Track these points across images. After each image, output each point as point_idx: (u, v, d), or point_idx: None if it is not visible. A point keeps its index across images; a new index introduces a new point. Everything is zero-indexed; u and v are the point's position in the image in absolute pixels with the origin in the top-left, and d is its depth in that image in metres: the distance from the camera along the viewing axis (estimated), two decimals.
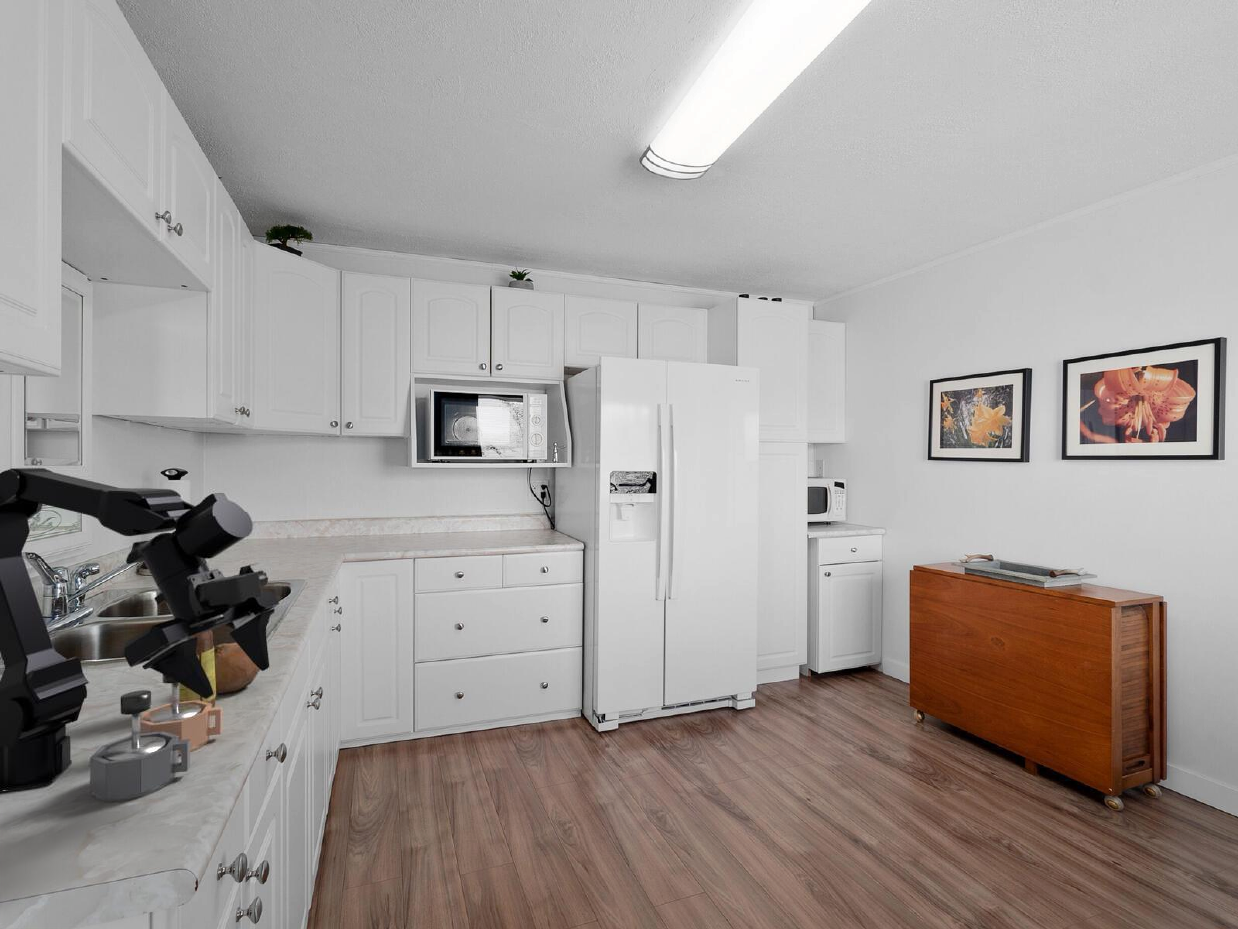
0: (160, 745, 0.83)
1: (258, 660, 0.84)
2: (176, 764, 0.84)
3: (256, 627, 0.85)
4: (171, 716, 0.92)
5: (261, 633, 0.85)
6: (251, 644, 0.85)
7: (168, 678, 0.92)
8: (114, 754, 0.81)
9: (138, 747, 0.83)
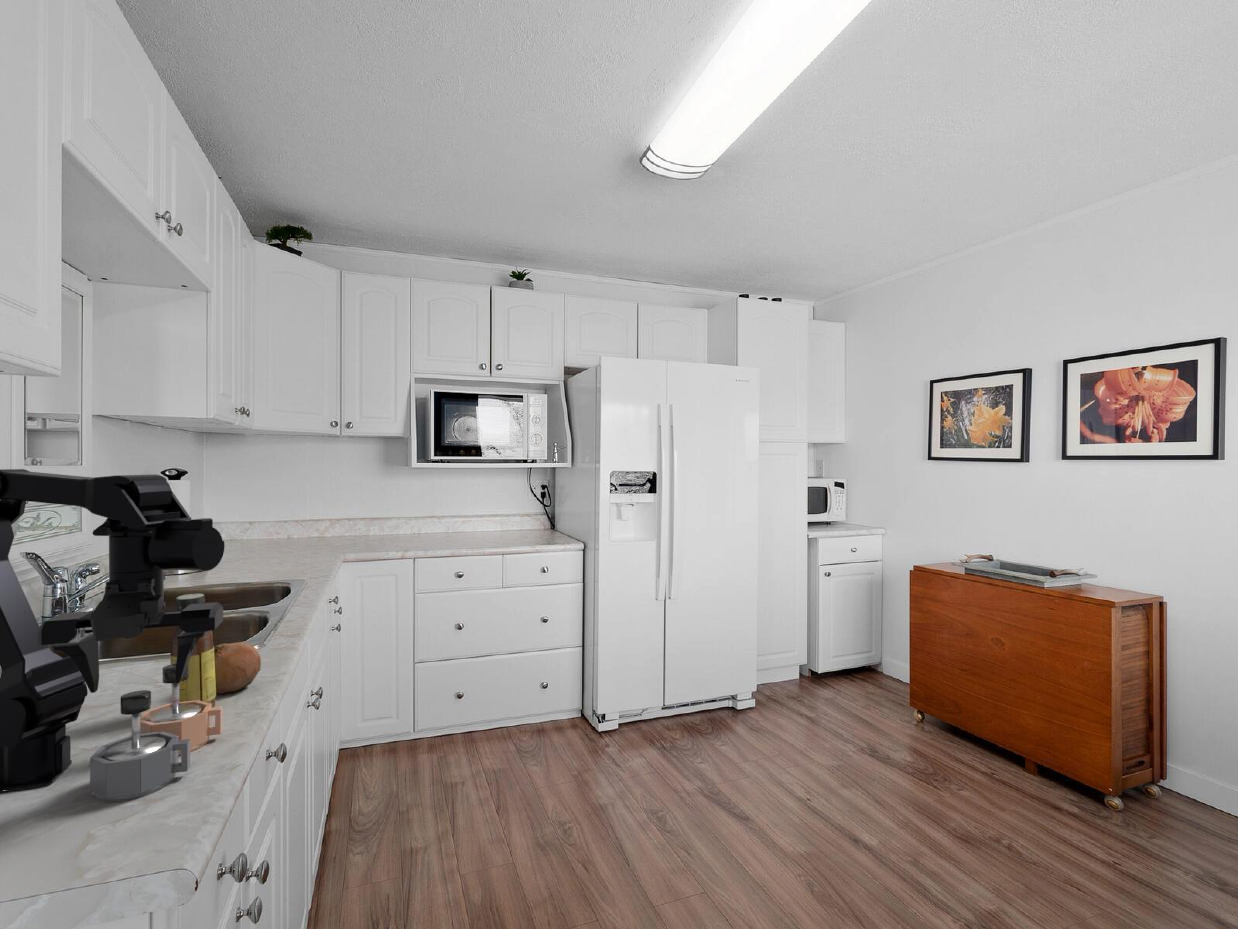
0: (160, 745, 0.83)
1: None
2: (176, 764, 0.84)
3: (178, 644, 0.83)
4: (171, 716, 0.92)
5: (182, 651, 0.83)
6: None
7: (168, 678, 0.92)
8: (114, 754, 0.81)
9: (138, 747, 0.83)
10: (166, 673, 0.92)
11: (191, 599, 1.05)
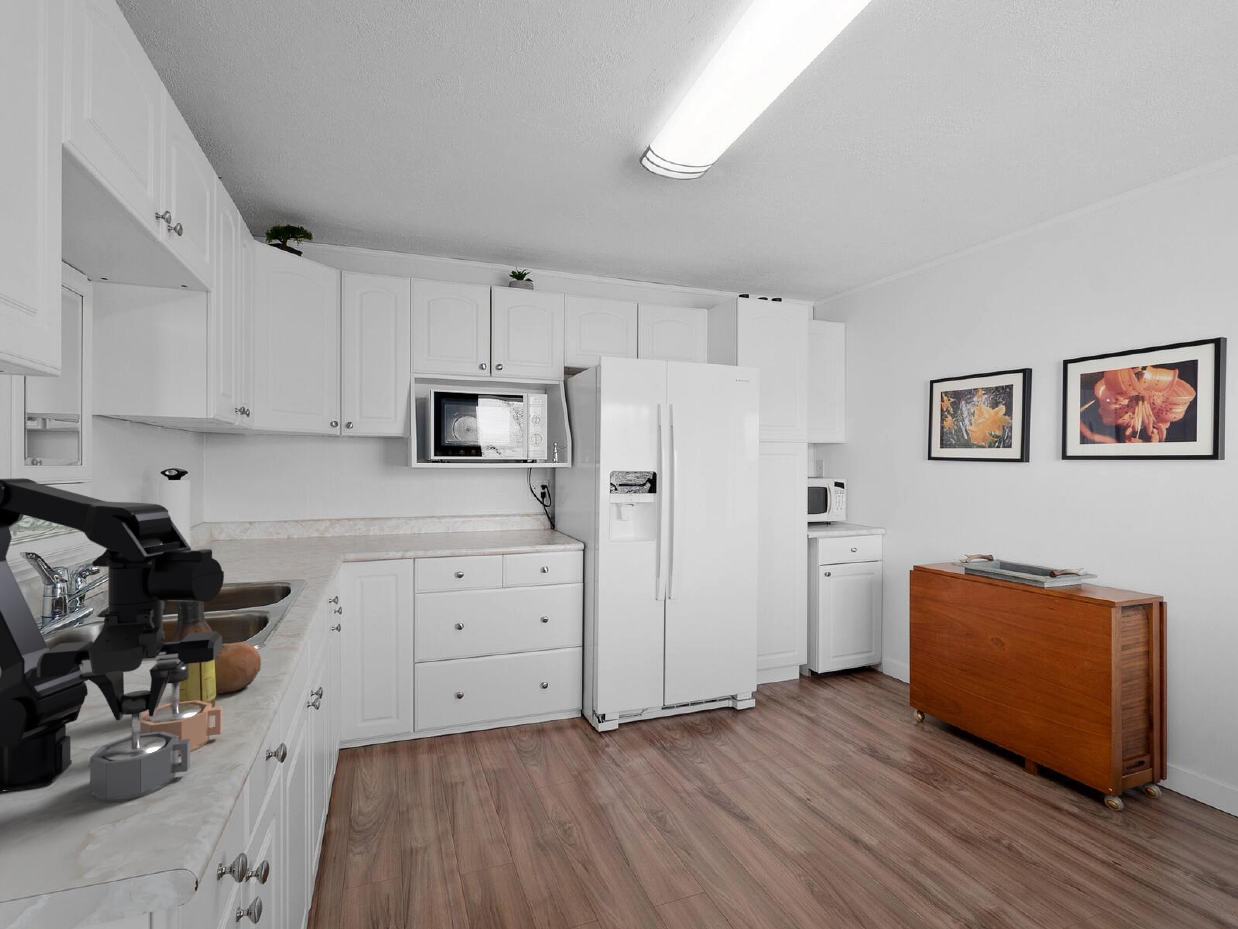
0: (160, 745, 0.83)
1: None
2: (176, 764, 0.84)
3: (151, 677, 0.82)
4: (171, 716, 0.92)
5: (156, 684, 0.82)
6: None
7: None
8: (114, 754, 0.81)
9: (138, 747, 0.83)
10: None
11: None
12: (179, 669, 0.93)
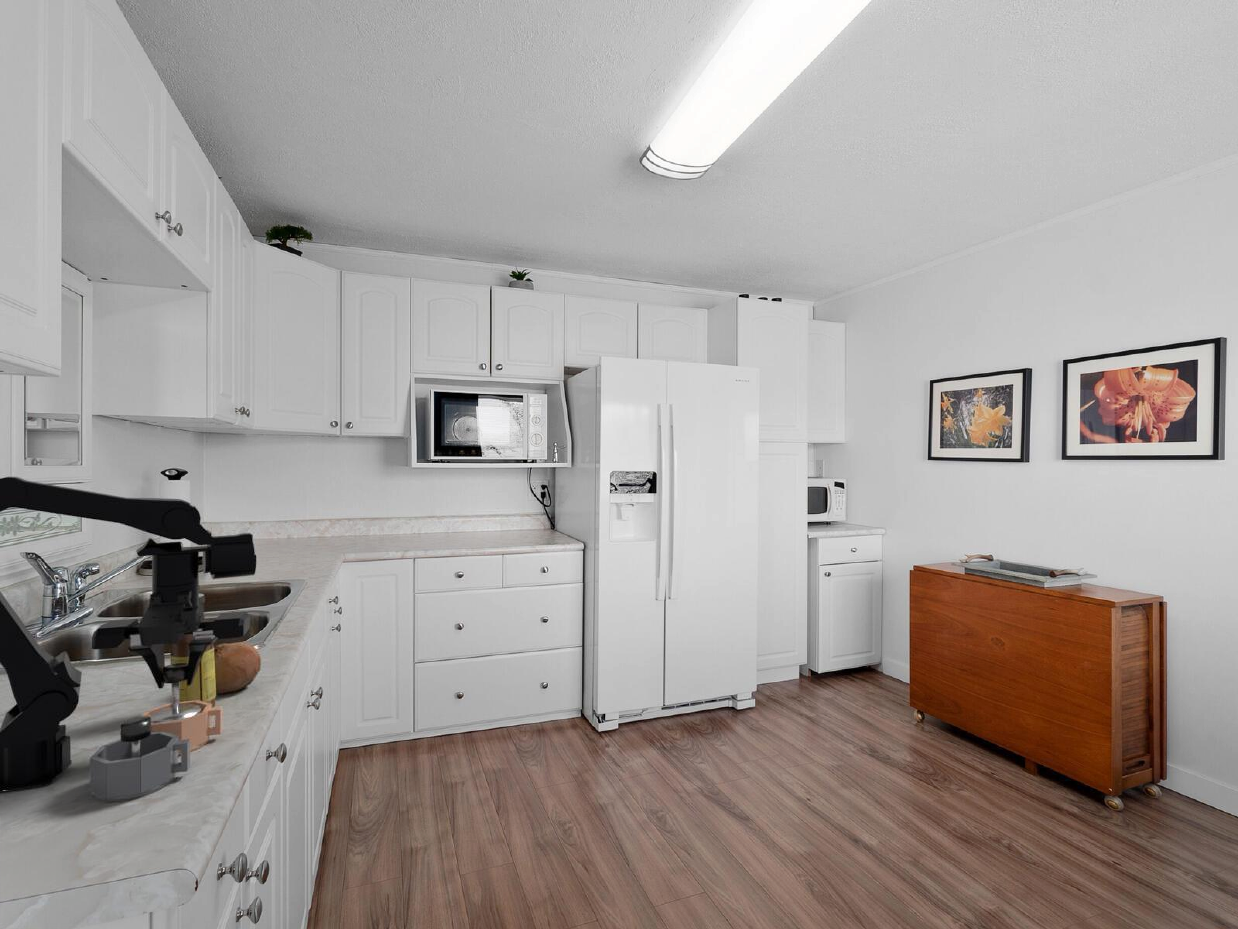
0: None
1: None
2: (176, 764, 0.84)
3: (189, 651, 0.93)
4: (171, 716, 0.92)
5: (193, 656, 0.93)
6: None
7: (168, 678, 0.92)
8: None
9: None
10: (166, 673, 0.92)
11: None
12: (179, 669, 0.93)
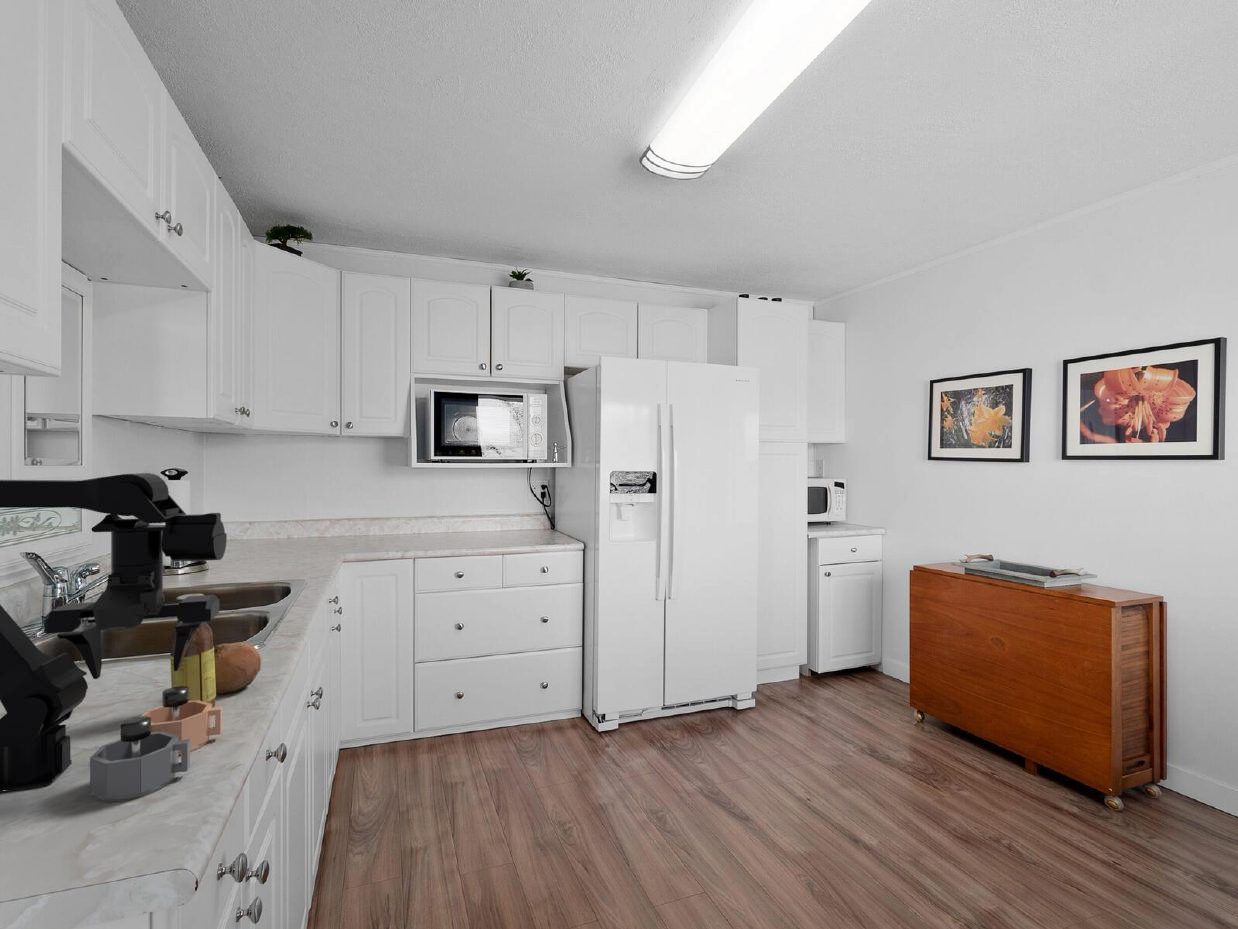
0: None
1: None
2: (176, 764, 0.84)
3: (176, 634, 0.88)
4: None
5: (180, 640, 0.88)
6: None
7: (168, 702, 0.92)
8: None
9: None
10: (166, 697, 0.92)
11: None
12: (179, 693, 0.93)
